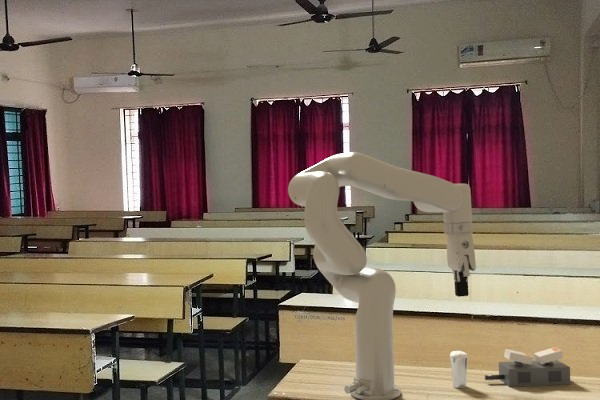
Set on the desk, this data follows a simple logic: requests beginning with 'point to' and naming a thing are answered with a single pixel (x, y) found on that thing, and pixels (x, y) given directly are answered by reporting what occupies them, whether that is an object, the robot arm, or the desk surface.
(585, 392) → the desk surface
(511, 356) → the rocker
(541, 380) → the rocker switch panel
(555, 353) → the rocker
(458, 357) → the milkshake
